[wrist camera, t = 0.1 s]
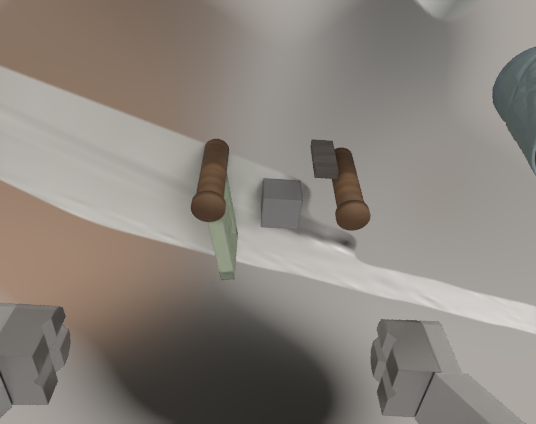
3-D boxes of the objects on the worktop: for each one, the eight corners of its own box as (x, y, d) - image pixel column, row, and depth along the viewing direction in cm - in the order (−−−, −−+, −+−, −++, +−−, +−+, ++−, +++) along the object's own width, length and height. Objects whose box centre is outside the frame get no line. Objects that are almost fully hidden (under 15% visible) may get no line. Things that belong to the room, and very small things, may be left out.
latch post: (311, 139, 54) (320, 198, 45) (358, 142, 54) (374, 202, 46) (307, 167, 56) (314, 228, 48) (351, 170, 56) (366, 231, 48)
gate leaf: (225, 167, 55) (220, 212, 49) (237, 233, 62) (234, 279, 56) (212, 168, 55) (205, 213, 49) (225, 233, 62) (221, 280, 56)
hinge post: (202, 135, 53) (190, 194, 45) (232, 137, 53) (225, 196, 45) (202, 160, 55) (191, 220, 47) (231, 162, 56) (225, 222, 47)
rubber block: (263, 177, 57) (263, 198, 54) (300, 180, 57) (302, 200, 54) (261, 206, 60) (260, 227, 57) (295, 208, 60) (297, 229, 57)
